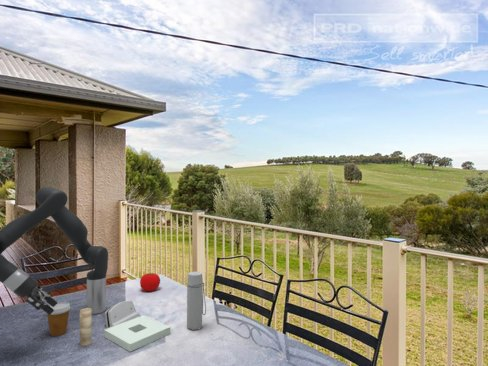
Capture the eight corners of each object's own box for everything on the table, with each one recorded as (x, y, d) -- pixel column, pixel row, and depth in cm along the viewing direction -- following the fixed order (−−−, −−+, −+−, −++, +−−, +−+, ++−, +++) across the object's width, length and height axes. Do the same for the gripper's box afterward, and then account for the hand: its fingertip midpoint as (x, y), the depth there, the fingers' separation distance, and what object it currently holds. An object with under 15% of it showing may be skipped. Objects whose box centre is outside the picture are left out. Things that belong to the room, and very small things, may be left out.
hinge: (114, 330, 148) (108, 308, 150) (107, 331, 150) (101, 310, 152) (139, 316, 164) (134, 296, 165) (132, 317, 166) (127, 298, 167)
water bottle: (189, 332, 147) (189, 276, 147) (184, 325, 154) (184, 272, 153) (208, 328, 151) (209, 274, 151) (202, 321, 158) (203, 269, 158)
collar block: (104, 336, 142) (104, 329, 142) (143, 321, 158) (143, 315, 158) (130, 351, 130) (130, 344, 130) (170, 333, 145) (170, 326, 145)
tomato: (136, 292, 198) (136, 275, 198) (145, 286, 210) (145, 270, 210) (154, 293, 196) (154, 276, 196) (162, 287, 208) (162, 271, 208)
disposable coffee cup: (75, 329, 149) (75, 303, 148) (57, 339, 140) (57, 311, 139) (59, 326, 152) (59, 300, 152) (40, 335, 143) (40, 308, 143)
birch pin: (77, 344, 136) (77, 310, 136) (88, 340, 139) (88, 307, 139) (82, 347, 133) (82, 313, 133) (93, 343, 136) (93, 309, 136)
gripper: (24, 280, 122) (58, 307, 126) (32, 270, 135) (64, 295, 139) (6, 296, 120) (42, 323, 124) (17, 285, 133) (49, 309, 137)
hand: (54, 308), depth 132 cm, fingers open, 8 cm apart
